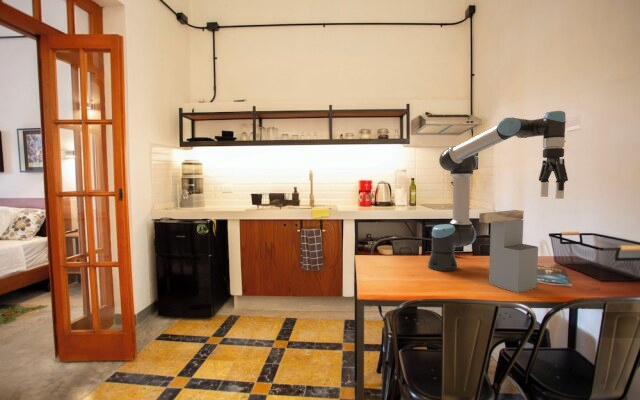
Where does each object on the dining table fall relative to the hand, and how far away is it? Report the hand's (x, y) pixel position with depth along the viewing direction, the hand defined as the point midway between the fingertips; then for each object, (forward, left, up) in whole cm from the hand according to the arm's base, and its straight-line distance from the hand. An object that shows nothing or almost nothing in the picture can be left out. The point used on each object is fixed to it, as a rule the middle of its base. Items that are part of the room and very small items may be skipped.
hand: (551, 197), depth 142 cm
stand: (-3, -13, -41) cm, 43 cm away
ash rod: (-3, -19, -11) cm, 22 cm away
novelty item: (-58, -32, -41) cm, 78 cm away
